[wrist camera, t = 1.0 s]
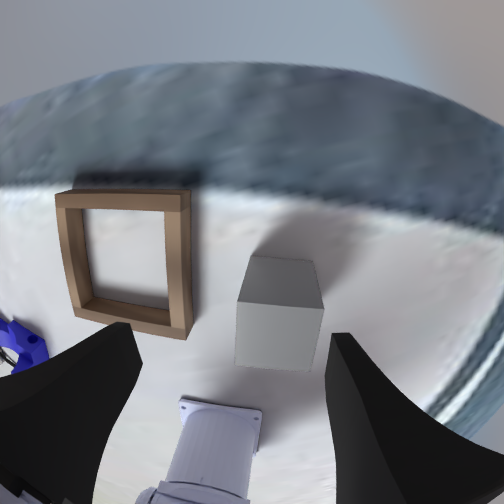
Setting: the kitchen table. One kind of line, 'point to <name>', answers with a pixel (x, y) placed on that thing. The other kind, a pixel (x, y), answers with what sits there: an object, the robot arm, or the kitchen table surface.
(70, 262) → the brown square frame
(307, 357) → the grey block
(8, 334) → the cable clip
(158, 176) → the kitchen table surface
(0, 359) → the bike brake
